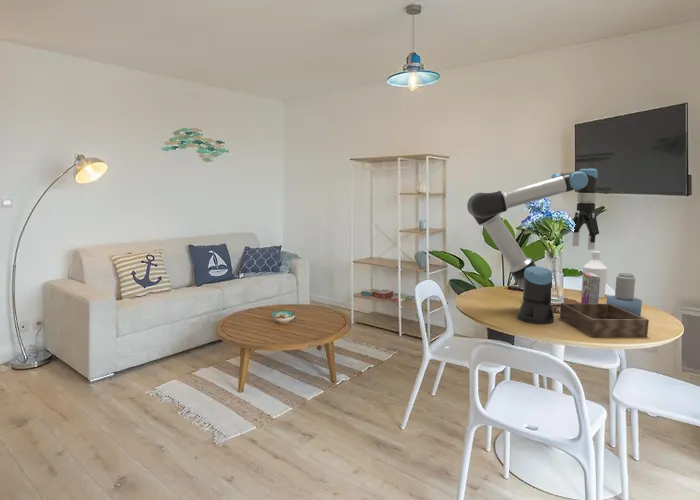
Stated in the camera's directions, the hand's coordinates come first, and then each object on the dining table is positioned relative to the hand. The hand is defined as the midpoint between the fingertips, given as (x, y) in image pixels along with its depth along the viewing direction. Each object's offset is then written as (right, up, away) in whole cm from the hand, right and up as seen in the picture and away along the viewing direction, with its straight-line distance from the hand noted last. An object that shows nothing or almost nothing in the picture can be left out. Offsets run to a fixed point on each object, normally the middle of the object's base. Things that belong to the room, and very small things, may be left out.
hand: (582, 247), depth 207 cm
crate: (-2, -34, -18) cm, 39 cm away
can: (+19, -24, -1) cm, 31 cm away
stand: (+19, -32, 0) cm, 37 cm away
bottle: (+28, -27, +41) cm, 56 cm away
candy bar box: (+13, -30, +18) cm, 37 cm away
